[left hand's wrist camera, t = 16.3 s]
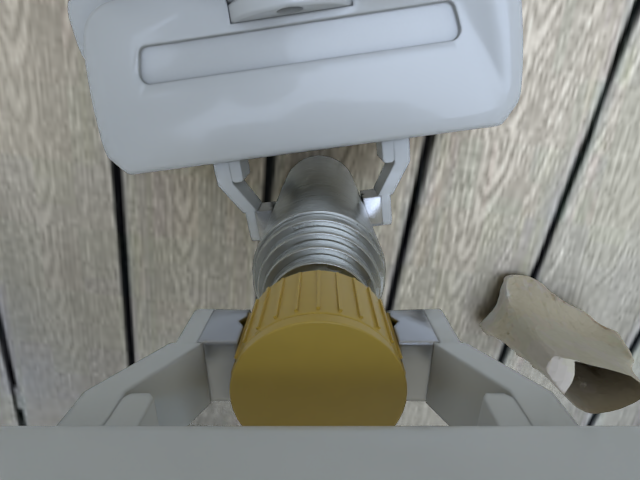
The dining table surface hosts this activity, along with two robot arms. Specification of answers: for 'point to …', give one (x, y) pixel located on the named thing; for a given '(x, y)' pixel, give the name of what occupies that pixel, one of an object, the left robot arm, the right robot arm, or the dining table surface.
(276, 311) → the cap
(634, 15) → the dining table surface
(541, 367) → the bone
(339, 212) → the bottle
